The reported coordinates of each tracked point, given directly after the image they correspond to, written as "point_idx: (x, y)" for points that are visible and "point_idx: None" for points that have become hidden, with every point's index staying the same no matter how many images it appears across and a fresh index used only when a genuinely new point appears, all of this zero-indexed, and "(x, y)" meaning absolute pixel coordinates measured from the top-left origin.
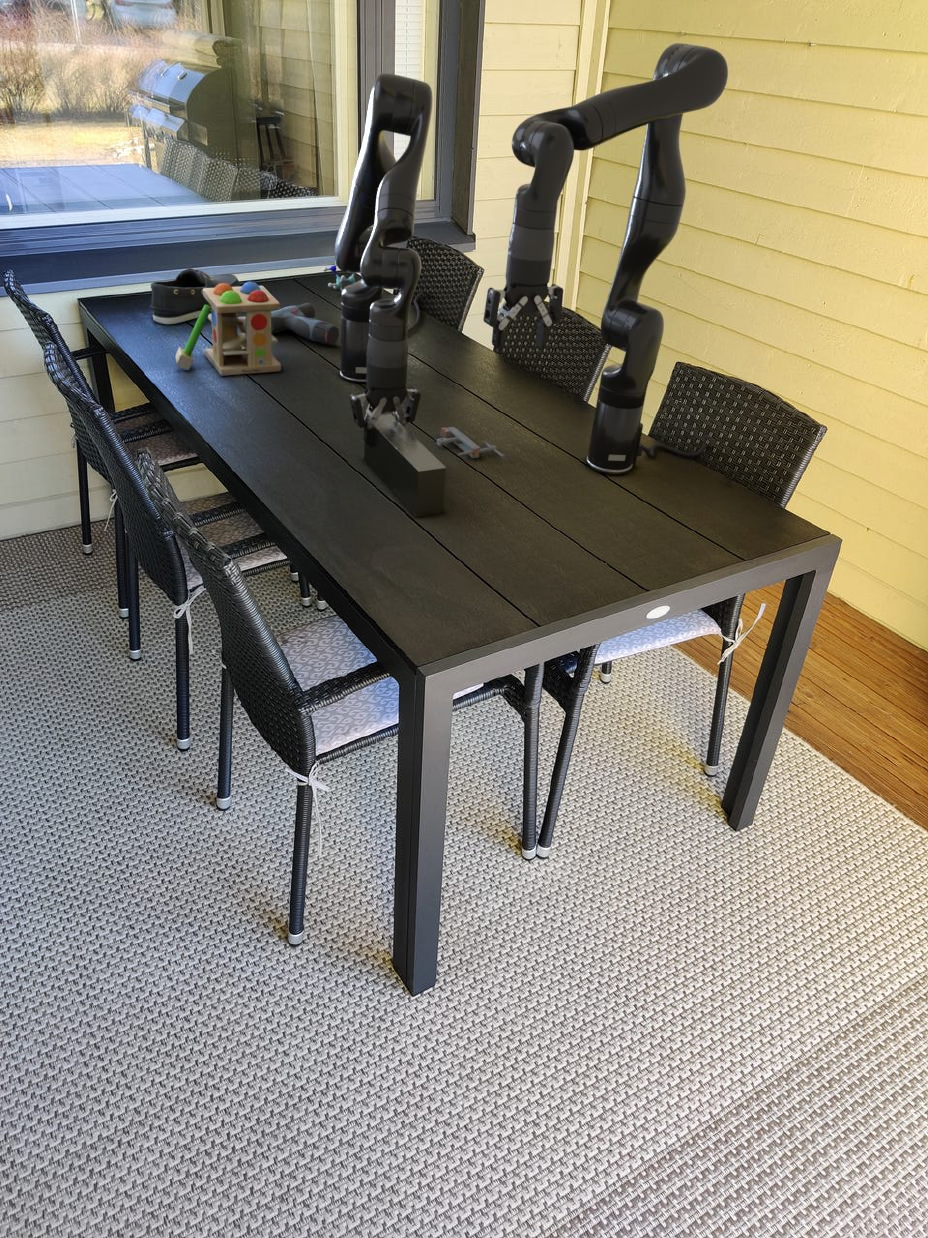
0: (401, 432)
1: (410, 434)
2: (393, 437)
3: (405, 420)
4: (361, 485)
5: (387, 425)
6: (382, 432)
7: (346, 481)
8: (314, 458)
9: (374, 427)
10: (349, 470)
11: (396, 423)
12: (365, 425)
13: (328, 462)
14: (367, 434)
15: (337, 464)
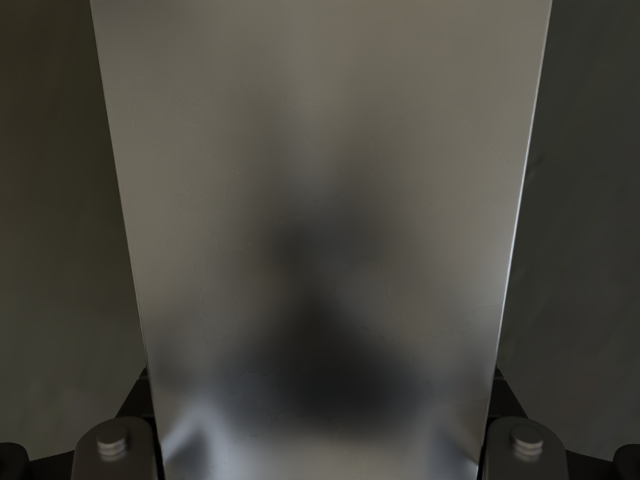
0: (237, 192)
1: (125, 87)
2: (429, 52)
3: (78, 463)
4: (552, 79)
5: (331, 421)
6: (491, 262)
7: (603, 156)
8: (602, 426)
9: (478, 428)
10: (516, 273)
11: (206, 440)
12: (576, 472)
13: (565, 377)
14: (503, 397)
15: (536, 348)
